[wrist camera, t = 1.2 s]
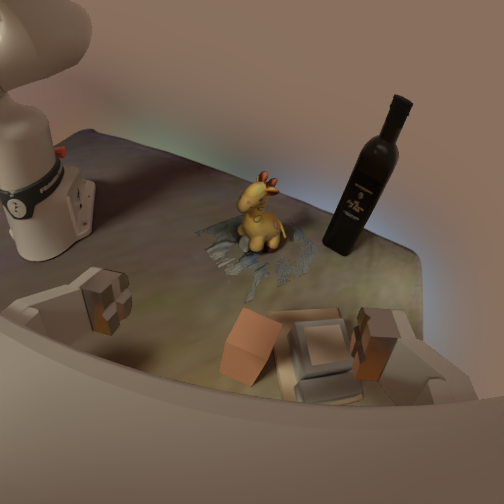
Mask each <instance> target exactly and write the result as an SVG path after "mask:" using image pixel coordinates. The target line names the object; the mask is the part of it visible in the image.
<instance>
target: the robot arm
mask: <svg viewBox="0 0 504 504" xmlns="http://www.w3.org/2000/svg"><path fill="white" fill-rule="evenodd" d="M0 15H1V17H2V21H1V22H0V199H1V201H2V204H3V207H4V210H5V213H6V216H7V220H8V223H9V225H10V231H9V232H10V235H11V237H12V238H13V239H14V240H15V242H16V246H17V250H18V252H19V254H20V255H21V256H22V257H23V258H25V259H27V260H30V261H44V260H48V259H51V258H53V257H55V256H57V255H59V254H61V253H62V252H64V251H65V250H67V249H68V248H69V247H70V246H71V245H72V244H73V243H74V242H76V241H77V240H80V239H82V238H84V237H86V236H87V235H89V234H90V233H91V231H92V220H93V209H94V200H95V191H96V186H95V183H94V182H92V181H89V180H85V179H83V177H82V173H81V171H80V170H79V169H78V168H76V167H72V166H66V165H62V163H61V161H60V160H59V158H58V157H60V158H64V157H65V156H66V149H65V146H62V147H55V149H54V147H53V142H52V137H51V132H50V126H49V121H48V119H47V117H46V115H45V114H44V113H43V112H42V111H41V110H39V109H38V108H36V107H33V106H28V105H22V104H19V103H17V102H15V101H14V100H13V99H12V98H11V97H10V96H9V94H8V92H7V91H9V90H12V89H15V88H17V87H20V86H23V85H26V84H29V83H32V82H35V81H38V80H42V79H45V78H48V77H50V76H52V75H55V74H57V73H59V72H61V71H64V70H66V69H68V68H70V67H72V66H74V65H77V64H78V63H79V61H80V60H81V58H83V56H84V54H85V53H86V51H87V49H88V47H89V44H90V41H91V35H92V25H91V20H90V18H89V15H88V14H87V12H86V11H85V10H84V9H83V8H82V7H81V6H80V5H78V4H76V3H74V2H71V1H69V0H0ZM129 285H130V283H129V278H128V276H127V274H126V273H122V272H117V271H113V270H108V269H103V268H98V267H91V268H90V269H88V270H87V271H86V272H84V273H83V274H82V275H81V276H79V277H78V278H77V279H76V280H74V281H73V282H72V283H71V284H69V285H63V286H60V287H56V288H53V289H50V290H46V291H43V292H40V293H37V294H34V295H30V296H27V297H24V298H21V299H18V300H16V301H14V302H13V303H12V304H11V305H9V306H8V307H7V308H6V309H5V310H3V311H2V312H1V313H0V504H504V396H500V397H494V398H488V399H481V400H478V397H477V395H476V393H475V390H474V388H473V386H472V383H471V381H470V379H469V377H468V376H467V375H466V374H465V373H463V372H462V371H461V370H459V369H458V368H457V367H456V366H454V365H453V364H452V363H450V362H449V361H448V360H446V359H445V358H444V357H443V356H441V355H440V354H439V353H438V352H436V351H435V350H434V349H432V348H431V347H430V346H428V345H427V344H426V343H424V342H423V341H422V340H420V339H416V337H415V334H414V332H413V329H412V327H411V325H410V322H409V320H408V318H407V316H406V313H405V311H403V310H396V309H377V308H362V307H361V309H360V311H359V313H358V316H357V320H358V325H357V326H356V327H355V328H354V329H353V333H352V336H351V343H350V352H351V356H352V357H353V358H354V361H353V364H352V368H353V376H354V379H357V380H370V381H378V383H379V384H380V385H381V387H382V388H383V389H384V390H385V392H386V393H387V394H388V395H389V397H390V398H391V399H392V400H393V402H394V403H395V404H396V405H397V406H348V405H330V404H317V403H306V402H296V401H287V400H279V399H272V398H264V397H258V396H251V395H245V394H240V393H234V392H229V391H223V390H218V389H213V388H208V387H204V386H199V385H195V384H190V383H186V382H182V381H178V380H174V379H170V378H166V377H162V376H158V375H155V374H151V373H148V372H144V371H141V370H137V369H134V368H131V367H128V366H125V365H121V364H118V363H115V362H112V361H109V360H106V359H104V358H101V357H98V356H95V355H92V354H90V353H87V352H84V351H82V350H79V349H77V348H74V347H71V346H69V345H70V344H72V343H74V342H76V341H78V340H79V339H81V338H83V337H85V336H87V335H89V334H91V333H92V332H93V331H94V332H97V333H101V334H105V335H108V336H112V335H113V334H114V332H115V331H116V330H117V329H118V328H119V326H120V321H121V320H124V319H126V318H127V317H128V315H129V314H130V311H131V309H132V295H131V293H130V292H129V291H128V289H127V288H128V286H129Z"/></svg>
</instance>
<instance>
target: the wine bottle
mask: <svg viewBox="0 0 504 504" xmlns="http://www.w3.org/2000/svg"><path fill="white" fill-rule="evenodd" d="M393 98H394V99H393V101H392V104H391V105H390V111H389V113H388V115H387V118H386V120H385V123H384V125H383V127H382V130H381V132H380V135H378V136H375V137H373V138H371V139H370V140H369V141H368V142H367V143H366V144H365V146H364V147H363V149H362V150H361V152H360V155H359V157H358V160H357V162H356V164H355V167H354V169H353V172H352V174H351V176H350V179H349V181H348V183H347V186H346V188H345V190H344V192H343V195H342V197H341V199H340V202H339V204H338V206H337V208H336V211H335V213H334V215H333V217H332V219H331V222H330V224H329V226H328V228H327V230H326V233H325V235H324V237H323V239H322V242H323V244H324V245H325V246H327V247H329V248H330V249H332V250H334V251H335V252H337V253H339V254H340V255H342V256H347V255H348V254H349V253H350V251H351V249H352V247H353V246H354V244H355V242H356V240H357V239H358V237H359V235H360V233H361V231H362V230H363V228H364V226H365V224H366V222H367V221H368V219H369V217H370V215H371V213H372V211H373V209H374V208H375V206H376V204H377V202H378V200H379V198H380V196H381V194H382V192H383V190H384V188H385V186H386V184H387V182H388V180H389V178H390V176H391V174H392V172H393V170H394V168H395V166H396V164H397V161H398V158H399V152H398V148H397V146H396V141H397V139H398V137H399V134H400V132H401V130H402V127H403V125H404V122H405V120H406V118H407V116H409V112H410V110H411V107H412V106H413V103H412V102H411V101H409V100H408V99H406V98H404V97H402V96H399V95H394V97H393Z"/></svg>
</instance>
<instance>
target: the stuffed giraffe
mask: <svg viewBox="0 0 504 504" xmlns="http://www.w3.org/2000/svg"><path fill="white" fill-rule="evenodd" d="M267 178H268V173H267V172H266V171H263V172H261V174H259V175H258V176H257V180H256V183H253V184H251V185H249V186H248V187H247V188H246V189H245V190H244V192H243V193H242V194H241V196H240V197H239V199H238V201H237V209H238V211H239V212H240V213H242V214H243V213H245V214H244V215H241V216H237V217H235V218H232V219H229V220H226V221H224V222H220V223H218V224H215V225H212V226H210V227H208V228H205V229H203V230H200V231H198V232H195V233H198V236H200V233H208V234H212V233H213V237H217V240H218V241H217V242H215V243H213V244H212V245H210V246H209V247H208V248H207V249H206V248H205V250H207V252H208V254H209V255H210V257H211V258H212V259H214V260H217V259H218V258H219V257H220V258H221V257H223V256H225V254H224V253H226V251H227V250H229V249H228V248H229V247H230V246H232V245H235V244H236V243H237V242H238V245H239V247H240V249H241V250H242V251H243V252H244V255H243V257H242V258H240V259H239V260H236V262H235V263H234V262H233V263H234V264H231V263H229V265H230V266H229V265H227V266H228V268H227V269H225V271H228V272H225V273H227V274H230V275H237V274H238V273H241V271H242V270H243V269H244V267H245V270H246V268H251V269H253V268H257V267H258V265H259V263H260V262H258V261H256V259H255V258H257V257H258V255H260V254H261V253H262V251H266V252H269V253H273V252H274V251H275V250H276V249H277V248H278V245H279V242H280V232H282V233H283V237H284V238H286V234H285V231H284V228H283V225H282V224H281V222H280V221H279V220H277V219H276V217H275V216H274V215H272V214H270V213H268V212H267V210H268V209H267V208H266V209H264V207H265V205H266V202H267V200H268V198H269V196H273V195H276V194H278V193H279V190H278V189H275V188H274V187H275V185H276V183H277V179H276V178H273V179H270V180H269V181H268V182H265V181H266V180H267ZM289 221H290V220H289ZM291 223H292V222H291ZM292 224H293V223H292ZM290 227H291V228H292V227H293V228H294V231H293V232H294V235H293V236H294V239H295V240H293V241H297V242H298V240H301V237H303V239H304V238H305V237H304V235H303V233H302V232H301V231H300V230H299V229H298V228H297V227H296V226H295V225H293V226H290ZM307 240H308V239H307ZM297 242H296V243H297ZM305 243H307V244H309V243H310V245H309V246H308V247H307V249H304V248H303V247H302V246H301V247H300V248H301V249H304V250H305V252H304V254H303V255H302V257H300V258H301V259H302V261H301V262H300V265H302V269H303V270H301V269H300V268H298V267H295V266H293V268H296V269H289V267H291V266H286V267H287V268H285V267H284V268H283V264H282V263H287V262H284V261H283V260H285V259H283V260H282V261H283V262H282V261H277V262H279V264H278V265H279V266H277V264H276V268H275V269H276V270H275V271H277V276H278V275H279V277H277V279H279V280H277V282H279V281H280V282H281V280H282V277H283V278H286V276H285V275H286V274H287V275H288V274H290V273H295V274H296V275H295V277H296V278H297V277H298V276H300V275H301V274H304V273H306V272H308V271H310V269H309V264H312V261H313V258H314V256H315V255H316V253H317V252H319V251H318V250H317V248H316V247H315V245H314V244H313V243H312V242H311V241H309V240H308V242H307V241H306V240H305V241H304V242H303V244H305ZM297 244H299V243H297ZM305 246H306V244H305ZM292 249H293V248H292ZM249 252H252V253H250V254H248V255H247V253H249ZM215 258H216V259H215ZM223 258H224V257H223ZM235 258H236V257H233V258H230V259H228V258H227V259H226V258H224V259H223V260H221V262H217V263H218V264H217V263H215V264H216V265H217V266H218V268H220V266H223V265H224V264H228V262H229V261H231V260H233V259H235ZM284 258H285V257H284ZM287 258H288V257H287ZM280 260H281V259H280ZM286 261H290V260H286ZM280 263H281V265H280ZM294 263H295V261H294ZM248 264H250V265H248ZM290 264H292V263H290ZM247 265H248V266H249V267H247ZM267 265H269V263H268V264H267V263H266V264H265V265H264V266H262V267H260V268H258V269H257V270H256V271H255V272H254V276H253V278H255V280H254V282H255V285H254V286H253V284H254V283H253V284H252V288H251V289H250V292H248V294H247V298H246V300H245V303H247V302H248V301H251V300H253V299H254V295H255V291H256V288H255V287H256V286H257V285H258V282H259V281H260V280H261V278H262V276H263V274H264V272H265V271H266V267H267ZM300 265H299V266H300ZM280 266H281V267H280ZM221 268H222V267H221ZM228 269H229V270H228ZM283 269H284V270H283ZM288 269H289V270H288ZM281 270H282V271H283V272H281ZM293 270H294V272H293ZM236 273H237V274H236ZM269 274H270V273H268V272H267V273H266V275H265V277H267V276H268V277H269ZM274 275H275V274H274ZM290 275H291V274H290ZM227 276H228V275H227ZM287 277H288V278H289V276H287ZM294 279H295V278H294ZM289 281H290V280H289ZM228 282H229V281H228ZM287 282H288V279H287V280H286V282H285V280H283V282H282V285H283V284H285V283H287ZM280 286H281V285H280ZM278 287H279V286H278ZM253 290H254V291H253Z"/></svg>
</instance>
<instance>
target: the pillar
mask: <svg viewBox="0 0 504 504" xmlns="http://www.w3.org/2000/svg"><path fill="white" fill-rule="evenodd" d="M282 325H283V324H281V323H278V322H276V321H274V320H271V319H269V318H267V317H264V316H262V315H260V314H257V313H255V312H253V311H250V310H248V309H246V308H243V310H242V312H241V313H240V315H239V317H238V319H237V321H236V323H235V325H234V327H233V329H232V331H231V333H230V334H229V336H228V338H227V340H226V343H225V347H224V352H223V357H222V361H221V366H220V371H219V373H222V374H224V375H226V376H228V377H230V378H232V379H235V380H237V381H239V382H242V383H244V384H246V385H248V386H252V385H253V383H254V382H255V380H256V378H257V377H258V375H259V374H260V372H261V370H262V369H263V367H264V365H265V364H266V362H267V360H268V358H269V356H270V353H271V351H272V349H273V346H274V344H275V342H276V339H277V337H278V334H279V332H280V329H281V327H282Z"/></svg>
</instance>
